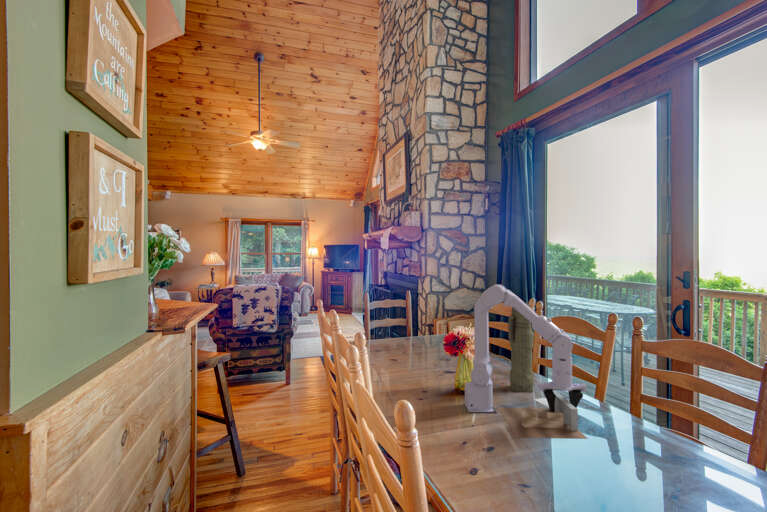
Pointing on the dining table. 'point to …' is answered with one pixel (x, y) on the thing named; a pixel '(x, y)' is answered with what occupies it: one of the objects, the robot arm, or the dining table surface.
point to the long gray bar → (566, 411)
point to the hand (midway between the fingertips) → (562, 412)
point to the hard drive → (543, 401)
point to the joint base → (536, 432)
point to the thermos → (521, 352)
